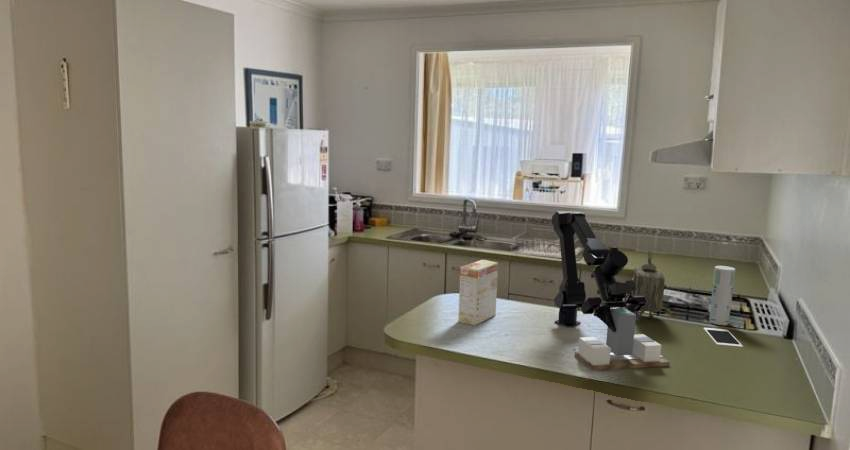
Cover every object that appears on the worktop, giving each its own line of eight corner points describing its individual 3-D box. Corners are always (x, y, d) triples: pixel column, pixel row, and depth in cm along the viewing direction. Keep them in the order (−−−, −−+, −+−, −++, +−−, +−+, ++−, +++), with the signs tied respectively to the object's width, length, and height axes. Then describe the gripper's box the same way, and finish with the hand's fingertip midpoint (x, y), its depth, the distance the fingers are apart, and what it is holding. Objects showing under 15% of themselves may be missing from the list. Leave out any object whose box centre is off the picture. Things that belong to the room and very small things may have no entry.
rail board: (592, 370, 163) (593, 365, 163) (574, 355, 174) (575, 350, 173) (669, 365, 168) (669, 360, 168) (647, 351, 179) (647, 346, 178)
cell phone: (727, 331, 201) (727, 329, 200) (743, 348, 185) (743, 346, 185) (703, 329, 202) (703, 327, 202) (716, 345, 186) (717, 343, 186)
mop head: (630, 310, 219) (636, 245, 215) (656, 313, 217) (662, 247, 212) (633, 322, 205) (639, 253, 201) (660, 325, 203) (667, 255, 199)
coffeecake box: (479, 311, 213) (481, 259, 210) (496, 315, 209) (499, 262, 206) (457, 321, 201) (459, 266, 198) (474, 326, 197) (477, 269, 194)
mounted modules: (593, 365, 164) (594, 348, 163) (578, 353, 172) (579, 336, 172) (659, 360, 168) (661, 344, 168) (641, 349, 177) (643, 333, 176)
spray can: (730, 326, 204) (737, 270, 201) (709, 323, 206) (716, 268, 203) (727, 320, 211) (733, 266, 207) (707, 318, 213) (713, 264, 209)
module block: (605, 347, 173) (609, 308, 170) (621, 346, 174) (624, 307, 172) (616, 355, 167) (620, 314, 165) (632, 354, 168) (636, 314, 166)
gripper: (589, 270, 168) (605, 320, 159) (647, 269, 172) (666, 317, 163) (574, 289, 177) (589, 337, 168) (630, 287, 181) (647, 334, 172)
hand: (623, 331), depth 168 cm, fingers closed on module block, 5 cm apart
